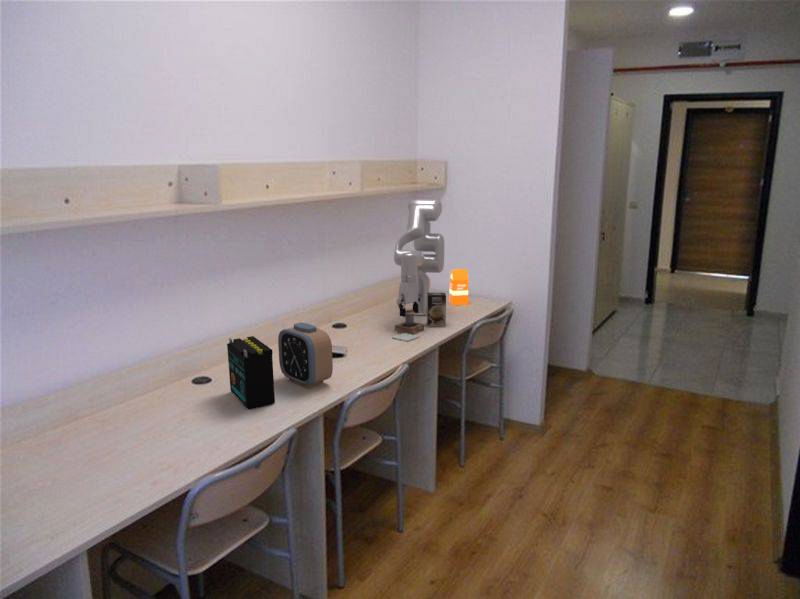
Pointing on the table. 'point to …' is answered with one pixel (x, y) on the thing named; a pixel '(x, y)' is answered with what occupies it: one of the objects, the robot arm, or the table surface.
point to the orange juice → (458, 287)
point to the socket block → (409, 328)
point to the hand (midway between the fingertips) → (409, 314)
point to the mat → (406, 337)
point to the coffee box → (436, 310)
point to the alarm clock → (305, 355)
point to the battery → (251, 372)
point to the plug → (409, 318)
